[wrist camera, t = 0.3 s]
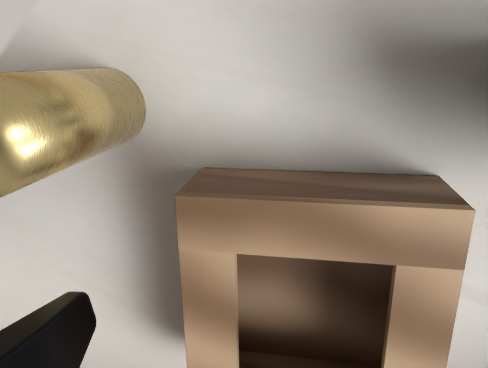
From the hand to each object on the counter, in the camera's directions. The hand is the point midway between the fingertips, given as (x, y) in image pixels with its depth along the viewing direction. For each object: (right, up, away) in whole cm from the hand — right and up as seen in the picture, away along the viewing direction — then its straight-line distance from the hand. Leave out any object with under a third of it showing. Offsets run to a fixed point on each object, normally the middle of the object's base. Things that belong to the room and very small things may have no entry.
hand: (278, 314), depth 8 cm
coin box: (+3, -3, +15) cm, 16 cm away
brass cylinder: (-9, +7, +14) cm, 18 cm away
